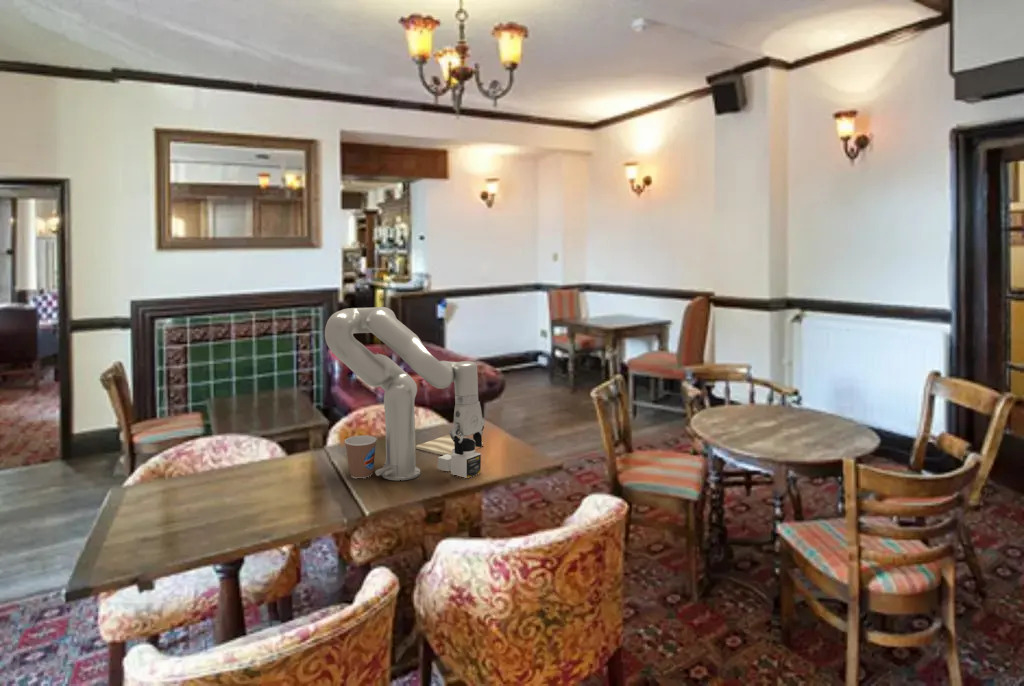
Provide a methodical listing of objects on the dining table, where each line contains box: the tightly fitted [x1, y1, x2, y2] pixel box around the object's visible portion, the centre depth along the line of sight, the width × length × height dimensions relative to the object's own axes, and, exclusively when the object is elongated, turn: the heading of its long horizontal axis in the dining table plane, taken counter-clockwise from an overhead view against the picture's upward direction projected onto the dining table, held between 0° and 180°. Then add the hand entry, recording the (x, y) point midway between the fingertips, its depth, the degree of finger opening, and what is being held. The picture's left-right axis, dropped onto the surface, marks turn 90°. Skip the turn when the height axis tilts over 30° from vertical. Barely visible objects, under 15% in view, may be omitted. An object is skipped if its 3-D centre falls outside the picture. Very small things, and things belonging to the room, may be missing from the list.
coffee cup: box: [344, 435, 378, 479], centre depth 209 cm, size 10×10×12 cm
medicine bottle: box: [450, 437, 482, 479], centre depth 211 cm, size 7×7×12 cm
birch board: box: [415, 434, 485, 455], centre depth 240 cm, size 18×18×2 cm
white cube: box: [437, 454, 451, 471], centre depth 216 cm, size 4×4×4 cm
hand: (468, 450), depth 211 cm, fingers open, 9 cm apart
